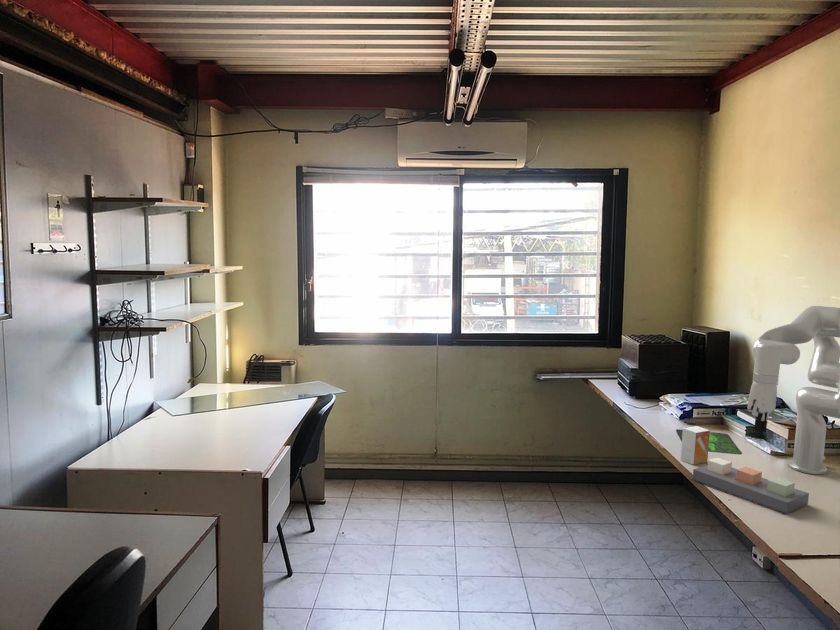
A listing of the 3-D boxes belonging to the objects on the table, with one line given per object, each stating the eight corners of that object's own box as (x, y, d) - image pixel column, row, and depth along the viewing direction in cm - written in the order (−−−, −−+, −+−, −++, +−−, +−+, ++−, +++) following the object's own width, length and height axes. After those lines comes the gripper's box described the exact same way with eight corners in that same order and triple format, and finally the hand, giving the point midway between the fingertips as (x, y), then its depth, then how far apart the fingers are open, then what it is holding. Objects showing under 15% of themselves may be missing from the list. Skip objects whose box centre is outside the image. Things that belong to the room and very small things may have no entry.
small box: (693, 465, 227) (696, 432, 226) (679, 459, 233) (682, 428, 231) (708, 462, 231) (710, 430, 229) (694, 457, 237) (696, 425, 235)
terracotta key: (744, 480, 207) (745, 466, 206) (760, 486, 202) (761, 472, 202) (735, 483, 204) (736, 469, 203) (751, 489, 199) (753, 475, 199)
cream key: (715, 470, 216) (716, 457, 215) (730, 475, 211) (731, 462, 211) (706, 473, 213) (707, 460, 212) (721, 478, 208) (723, 465, 208)
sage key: (775, 491, 198) (776, 476, 198) (793, 497, 194) (794, 482, 193) (766, 494, 195) (768, 480, 195) (784, 501, 191) (786, 486, 190)
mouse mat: (744, 455, 240) (744, 453, 240) (685, 450, 245) (686, 448, 245) (726, 435, 266) (727, 432, 266) (674, 430, 271) (674, 428, 271)
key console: (714, 472, 221) (715, 462, 220) (807, 504, 194) (808, 493, 193) (692, 479, 213) (693, 469, 213) (786, 514, 186) (787, 502, 186)
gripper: (765, 375, 209) (760, 425, 211) (742, 378, 201) (737, 431, 203) (788, 379, 203) (782, 431, 204) (765, 383, 194) (759, 437, 196)
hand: (760, 431), depth 204 cm, fingers closed
